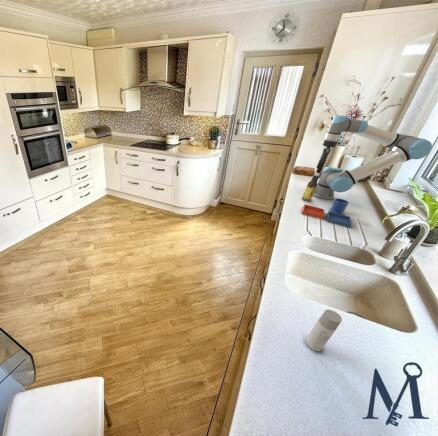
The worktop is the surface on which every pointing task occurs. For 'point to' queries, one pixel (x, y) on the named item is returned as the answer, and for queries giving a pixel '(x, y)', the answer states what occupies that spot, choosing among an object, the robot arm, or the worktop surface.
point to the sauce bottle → (310, 188)
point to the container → (323, 330)
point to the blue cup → (339, 206)
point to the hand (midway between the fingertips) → (318, 170)
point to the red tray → (313, 211)
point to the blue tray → (339, 219)
